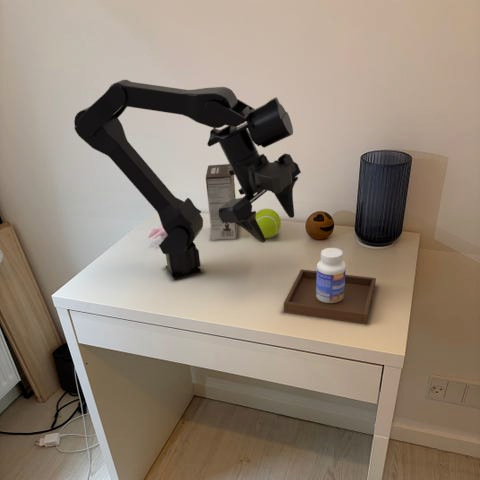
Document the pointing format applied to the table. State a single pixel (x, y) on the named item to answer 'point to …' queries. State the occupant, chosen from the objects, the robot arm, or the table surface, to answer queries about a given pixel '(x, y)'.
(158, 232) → the rabbit figure
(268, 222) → the tennis ball
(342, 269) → the pill bottle
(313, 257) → the table surface
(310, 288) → the tray
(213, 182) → the coffee box
